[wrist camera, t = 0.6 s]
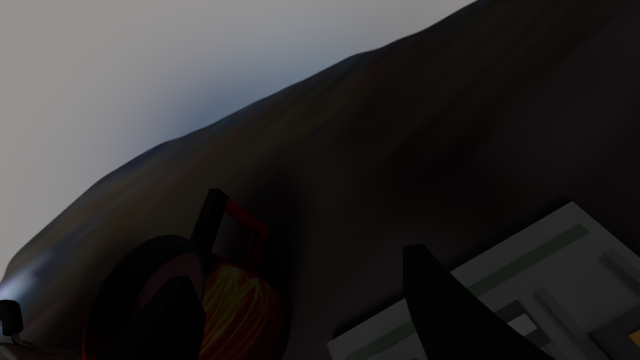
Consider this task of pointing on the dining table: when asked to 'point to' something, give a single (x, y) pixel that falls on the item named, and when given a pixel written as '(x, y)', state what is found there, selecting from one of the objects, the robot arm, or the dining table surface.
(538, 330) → the breaker
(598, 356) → the breaker panel
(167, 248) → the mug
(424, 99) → the dining table surface
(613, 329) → the breaker
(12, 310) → the cooking pot
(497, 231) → the dining table surface
